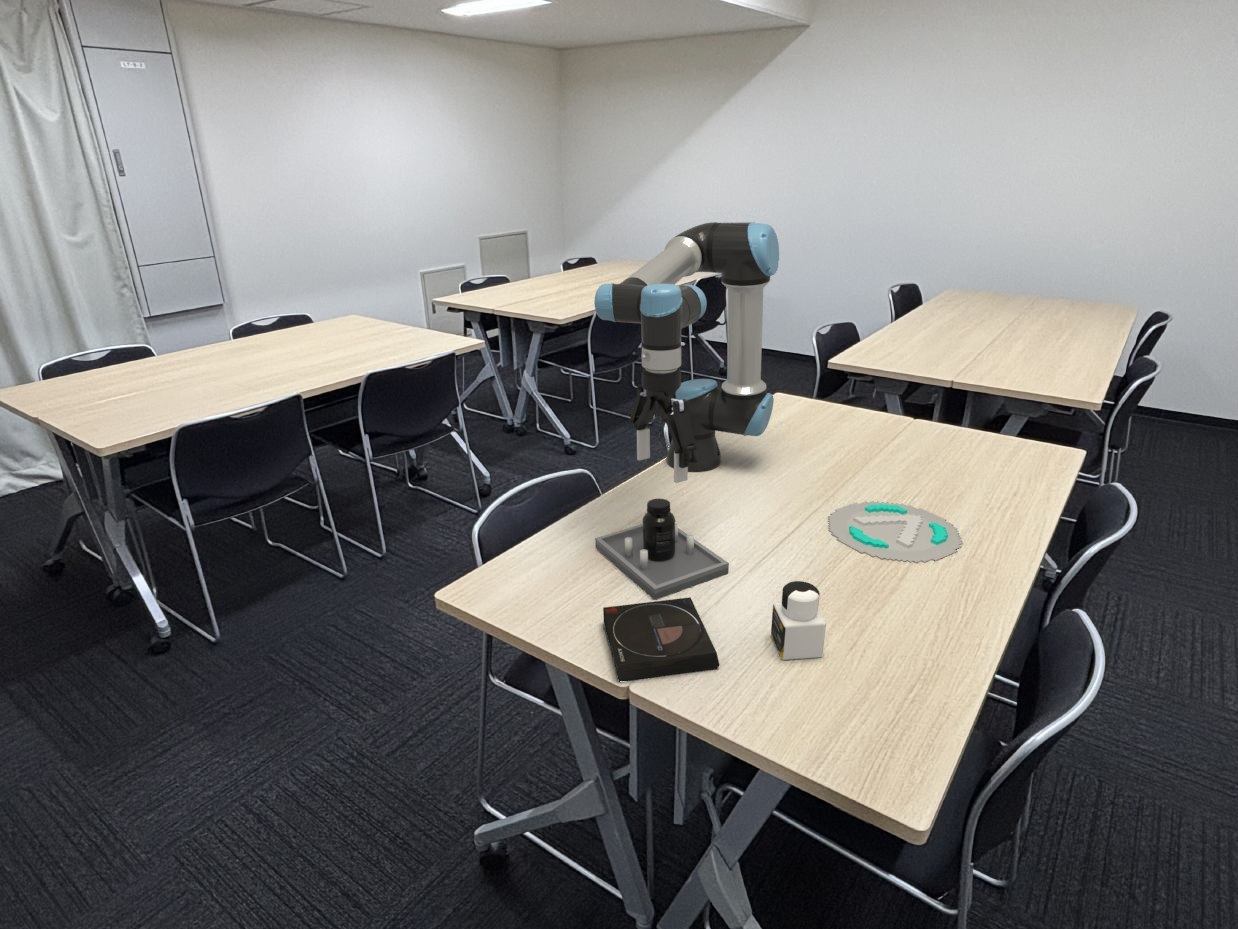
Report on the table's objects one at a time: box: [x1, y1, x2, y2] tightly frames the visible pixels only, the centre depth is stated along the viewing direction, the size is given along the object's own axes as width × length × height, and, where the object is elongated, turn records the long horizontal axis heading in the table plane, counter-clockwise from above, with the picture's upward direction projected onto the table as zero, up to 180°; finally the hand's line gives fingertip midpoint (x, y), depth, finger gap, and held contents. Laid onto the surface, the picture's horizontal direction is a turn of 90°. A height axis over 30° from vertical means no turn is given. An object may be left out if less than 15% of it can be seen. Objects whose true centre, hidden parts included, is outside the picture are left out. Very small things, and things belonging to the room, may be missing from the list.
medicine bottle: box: [770, 580, 827, 661], centre depth 121 cm, size 7×7×12 cm
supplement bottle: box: [642, 497, 676, 561], centre depth 148 cm, size 7×7×12 cm
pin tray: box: [594, 522, 730, 601], centre depth 150 cm, size 24×18×6 cm
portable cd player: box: [602, 596, 721, 683], centre depth 124 cm, size 16×17×4 cm
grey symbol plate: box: [827, 500, 964, 564], centre depth 161 cm, size 28×28×2 cm
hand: (661, 469), depth 144 cm, fingers open, 13 cm apart
